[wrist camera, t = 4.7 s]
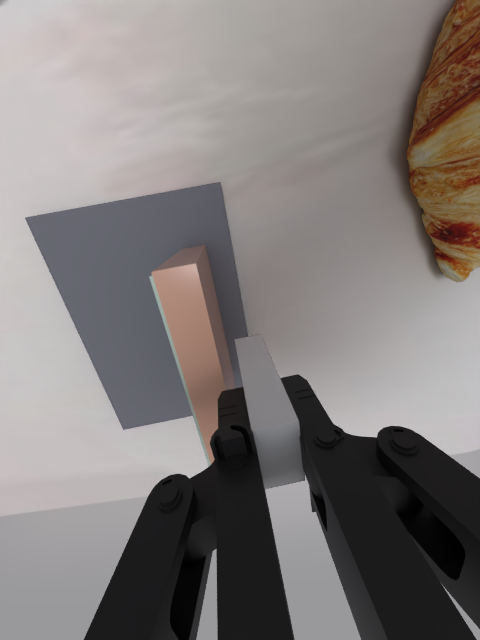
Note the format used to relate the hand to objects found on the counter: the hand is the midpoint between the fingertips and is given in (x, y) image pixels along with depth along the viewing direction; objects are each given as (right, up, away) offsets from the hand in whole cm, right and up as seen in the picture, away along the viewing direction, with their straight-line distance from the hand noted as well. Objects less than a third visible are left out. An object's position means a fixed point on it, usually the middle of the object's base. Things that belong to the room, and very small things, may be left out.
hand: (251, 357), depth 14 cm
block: (-3, +2, +7) cm, 8 cm away
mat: (-7, +2, +8) cm, 11 cm away
